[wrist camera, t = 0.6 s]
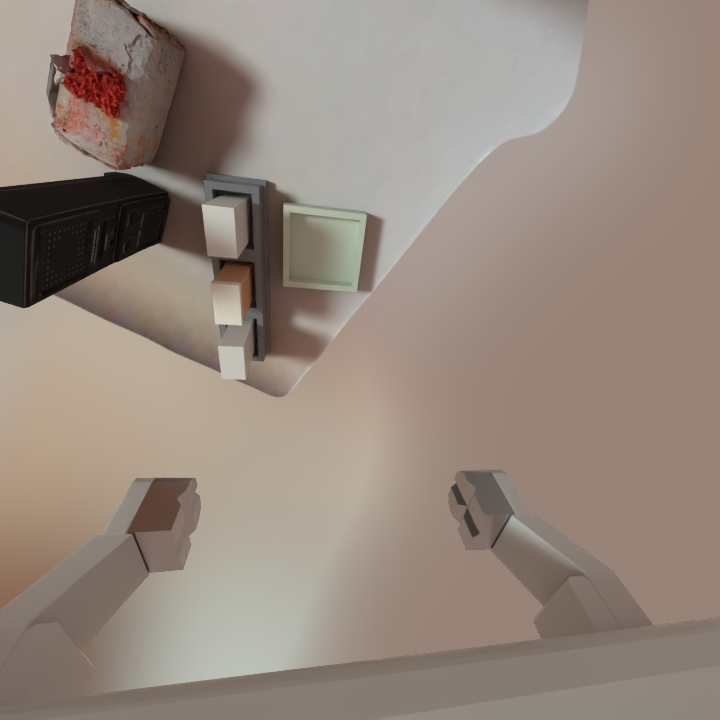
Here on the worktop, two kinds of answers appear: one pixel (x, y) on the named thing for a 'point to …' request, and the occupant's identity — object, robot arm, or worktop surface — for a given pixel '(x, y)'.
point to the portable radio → (73, 231)
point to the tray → (322, 247)
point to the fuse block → (240, 243)
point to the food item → (114, 84)
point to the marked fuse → (233, 292)
